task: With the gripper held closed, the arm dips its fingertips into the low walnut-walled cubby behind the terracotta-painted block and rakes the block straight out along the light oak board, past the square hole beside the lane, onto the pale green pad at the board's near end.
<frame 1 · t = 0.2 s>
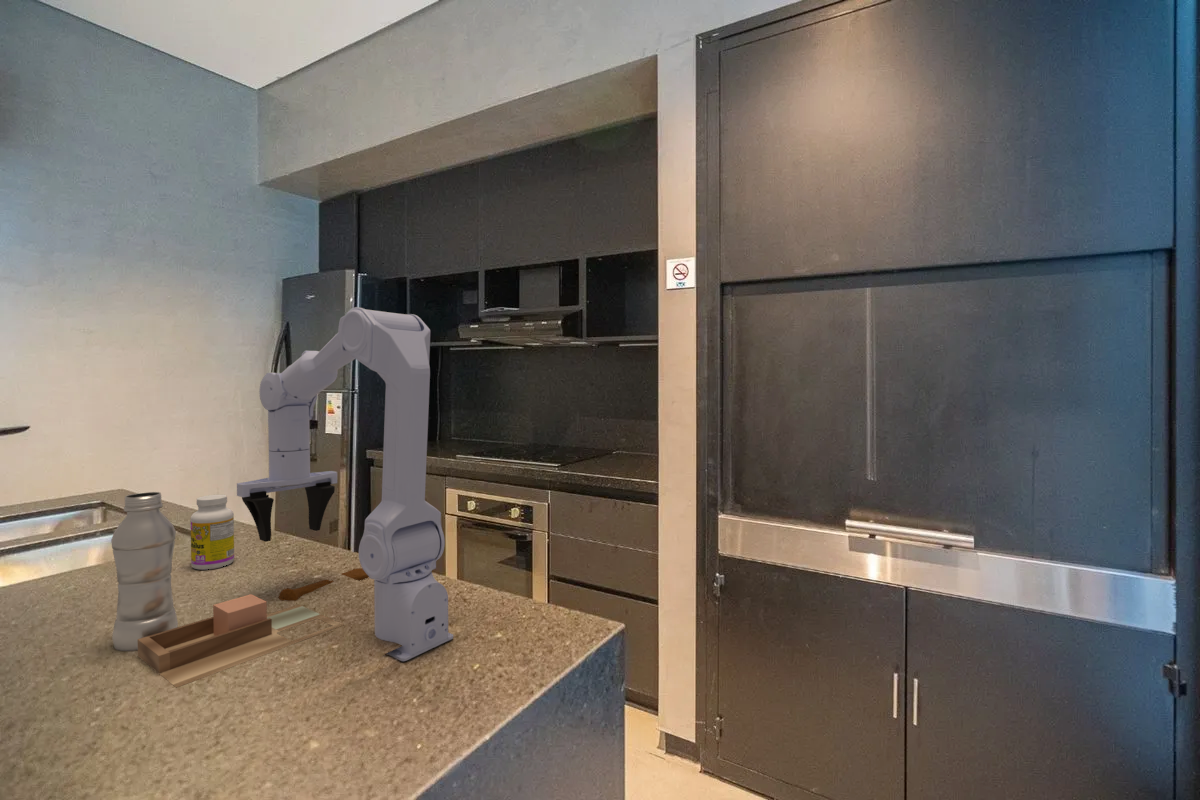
hand: (290, 534, 89), 10 cm above the counter, tool pointing down, fingers open, 7 cm apart
block: (240, 633, 73), point 1 cm above the counter, touching board
supplement bottle: (213, 566, 104), on the counter
primitive tool: (332, 591, 93), on the counter
board: (247, 650, 71), on the counter
plastic bottle: (146, 651, 71), on the counter
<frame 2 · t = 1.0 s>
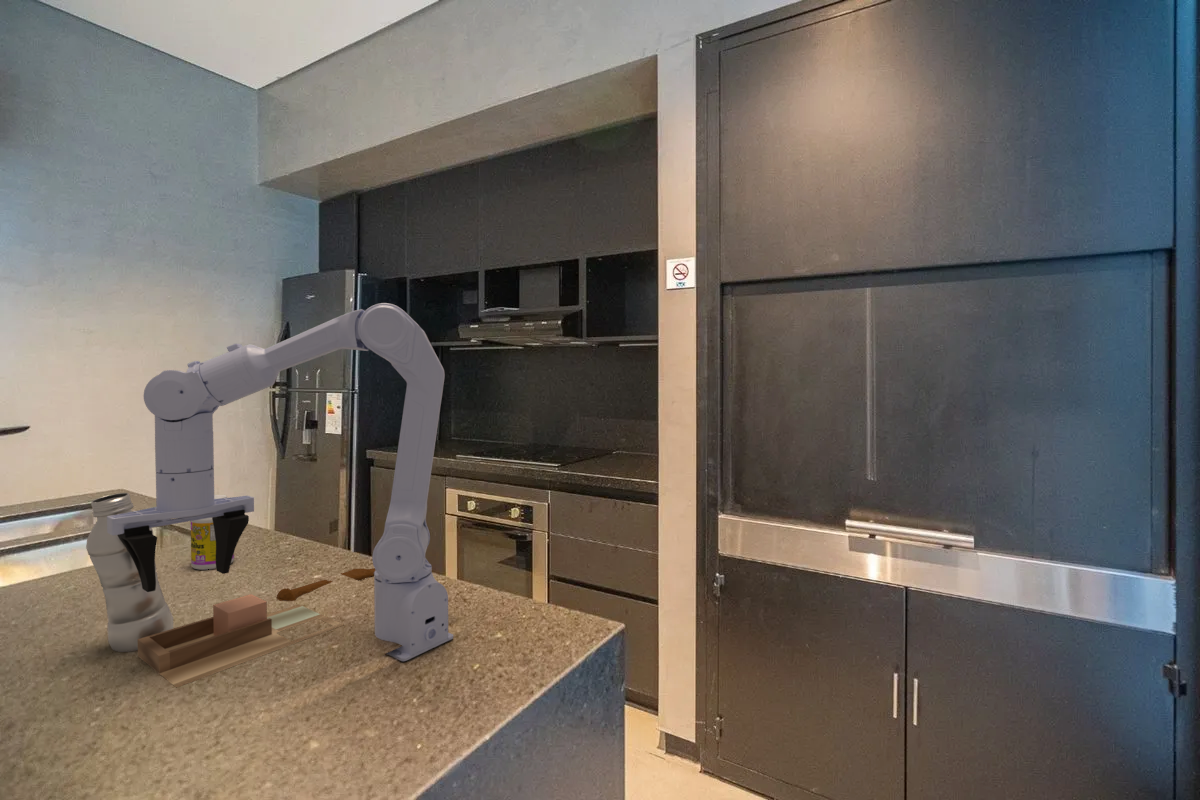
hand: (187, 580, 68), 10 cm above the counter, tool pointing down, fingers open, 7 cm apart
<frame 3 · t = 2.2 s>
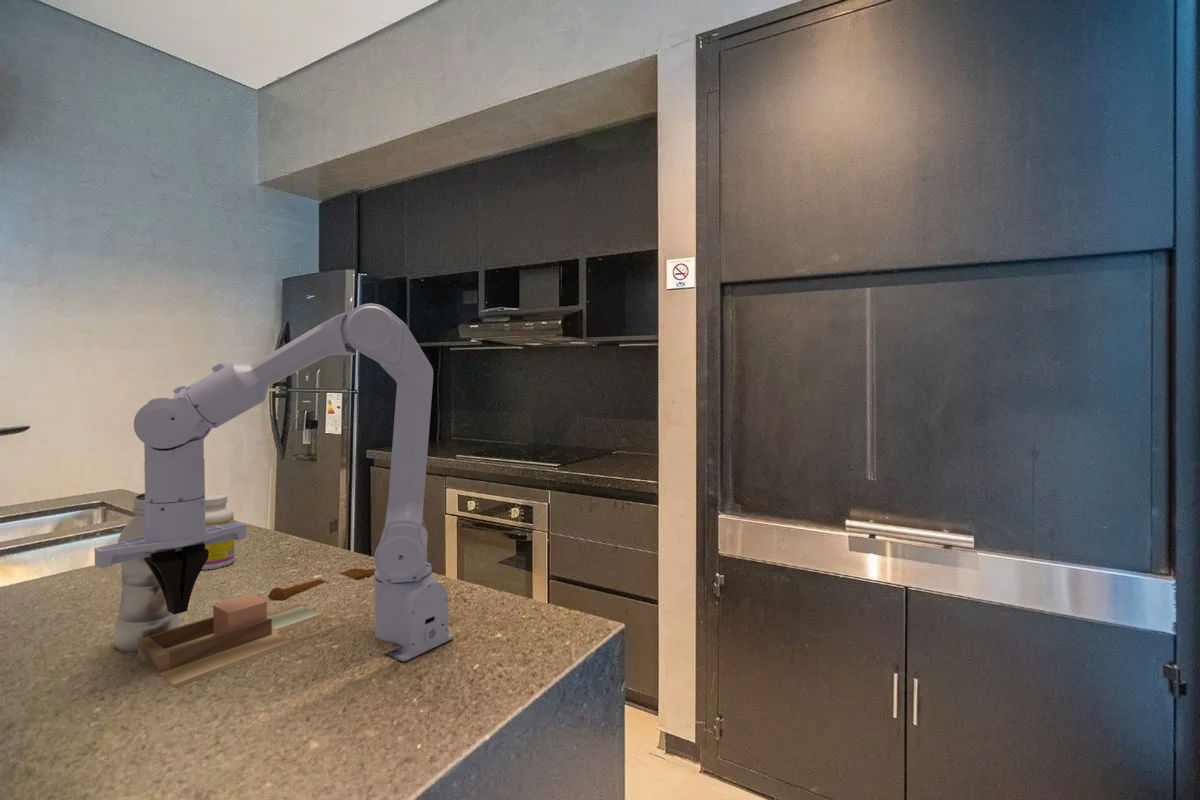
hand: (177, 610, 67), 7 cm above the counter, tool pointing down, fingers closed
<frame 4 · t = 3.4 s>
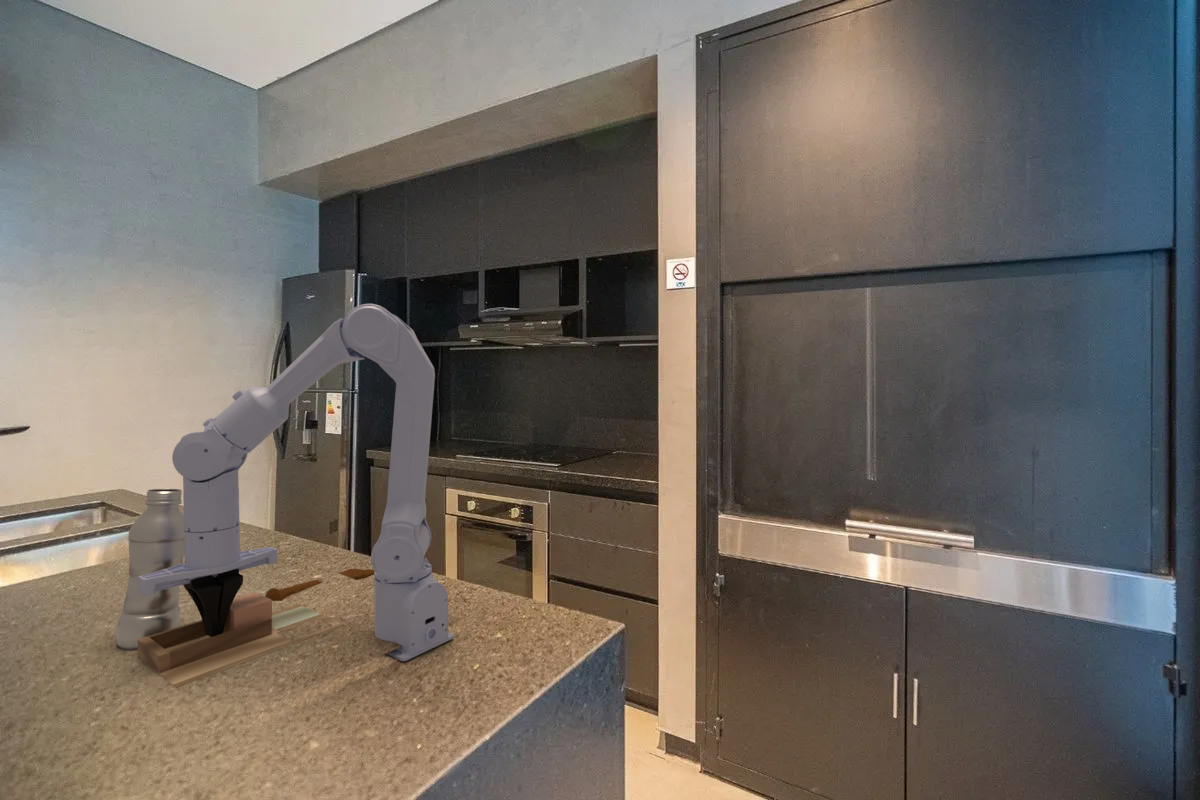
hand: (214, 633, 70), 3 cm above the counter, tool pointing down, fingers closed
block: (246, 631, 73), point 2 cm above the counter, touching gripper
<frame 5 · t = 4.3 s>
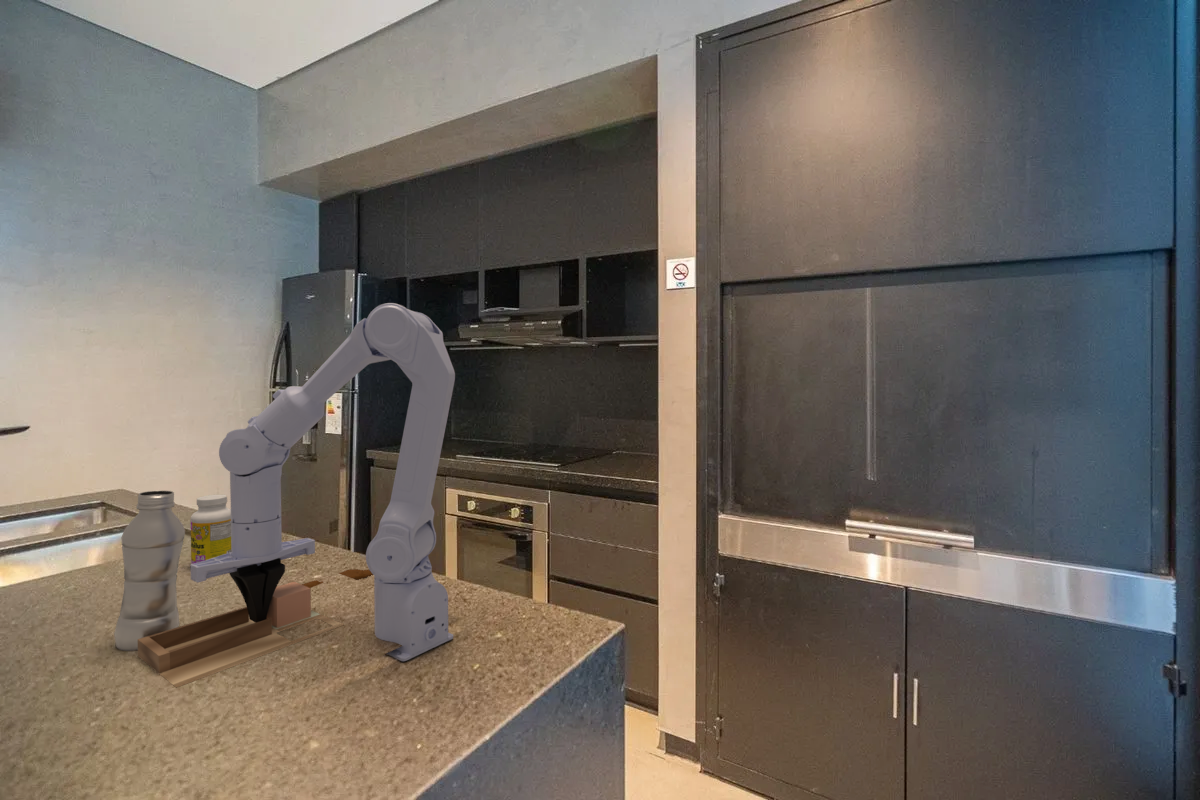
hand: (258, 619, 74), 3 cm above the counter, tool pointing down, fingers closed
block: (286, 618, 78), point 1 cm above the counter, touching board, gripper
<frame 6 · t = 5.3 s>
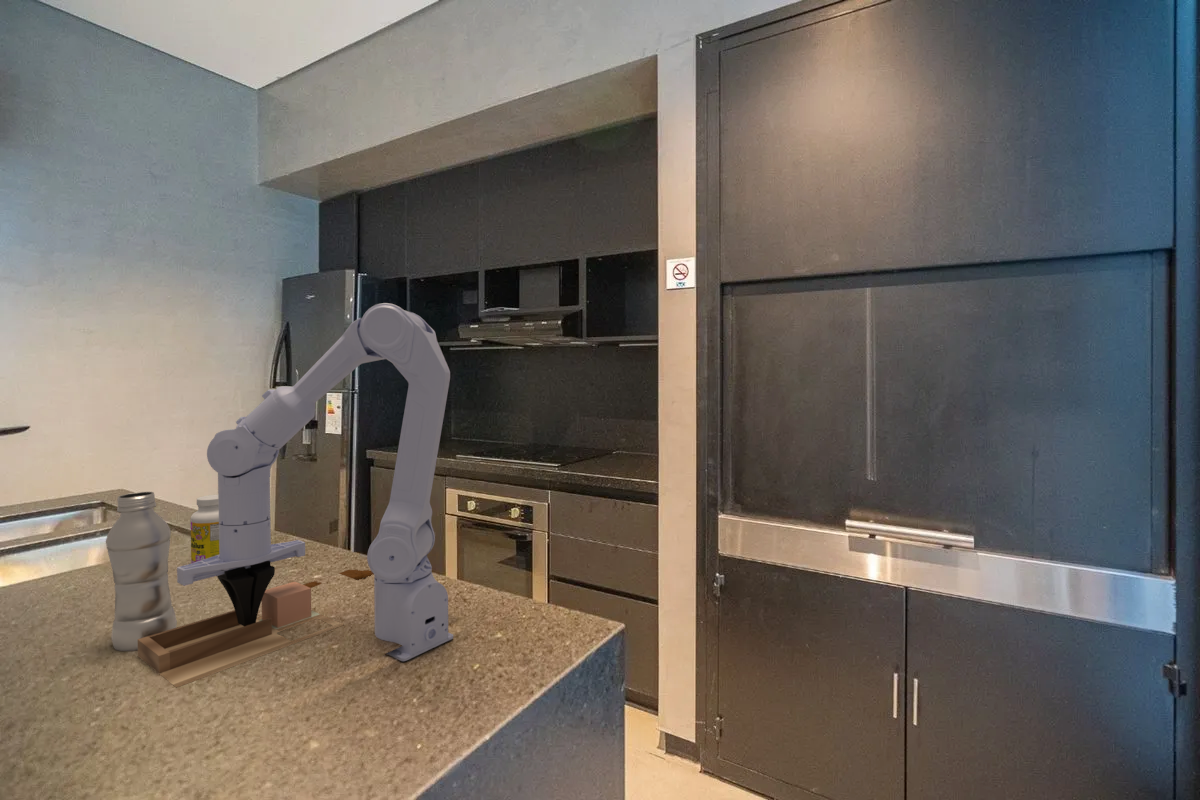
hand: (246, 622, 73), 3 cm above the counter, tool pointing down, fingers closed
block: (286, 617, 78), point 1 cm above the counter, touching board
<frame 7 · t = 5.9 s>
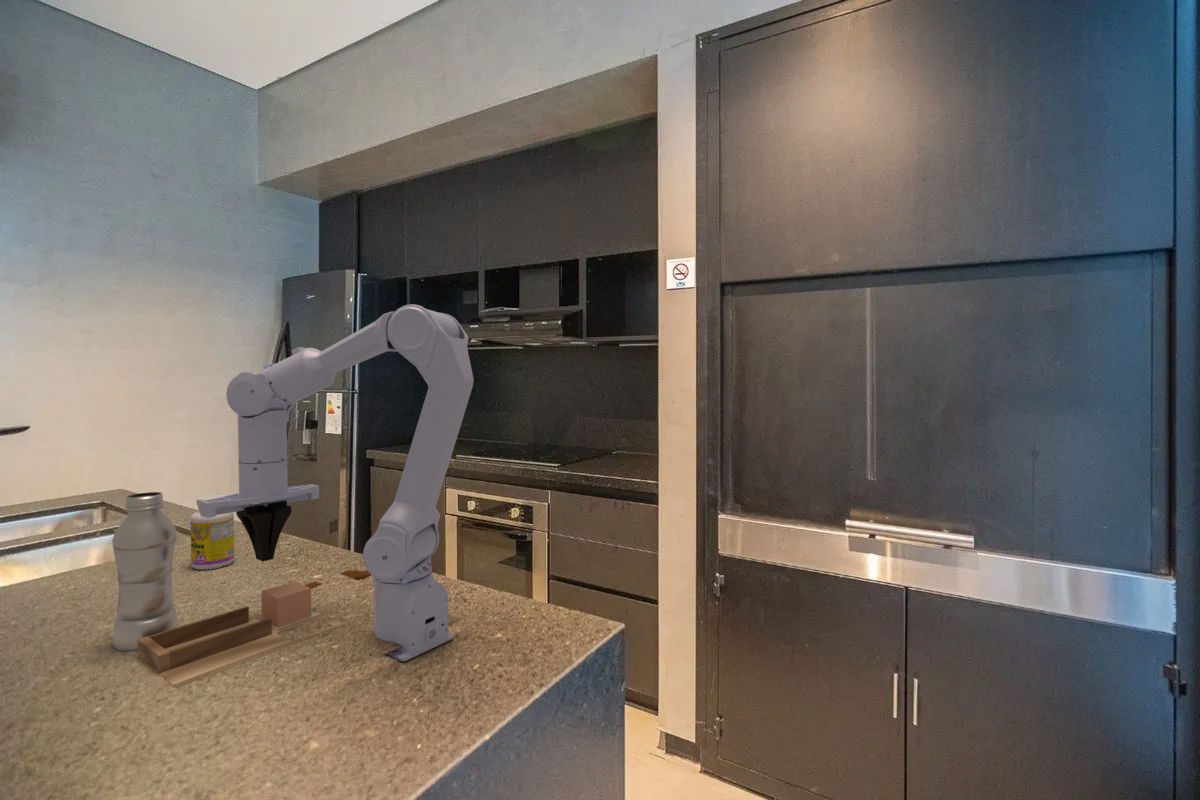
hand: (264, 559, 77), 10 cm above the counter, tool pointing down, fingers closed
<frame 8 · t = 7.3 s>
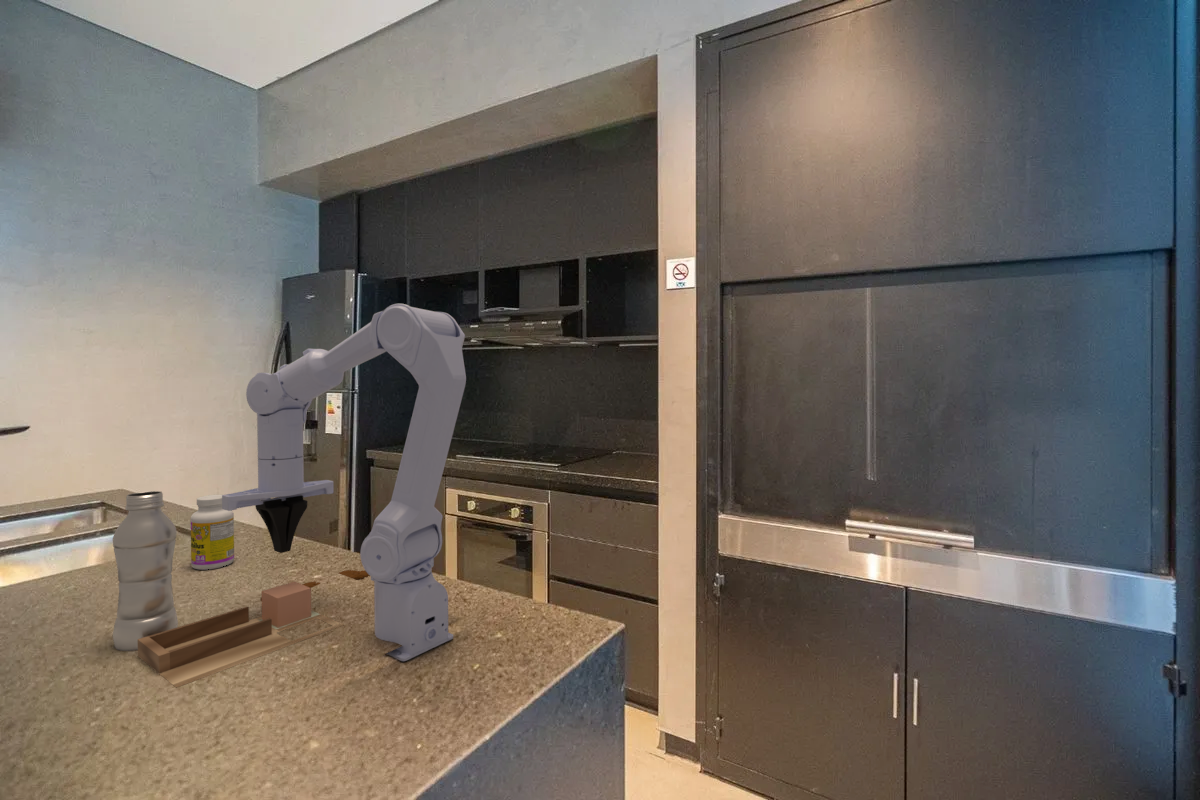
hand: (282, 550, 81), 10 cm above the counter, tool pointing down, fingers closed
at the end: block 0.1 cm from the target spot on the board, point 1.5 cm above the board's base; block tilted 0° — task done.
